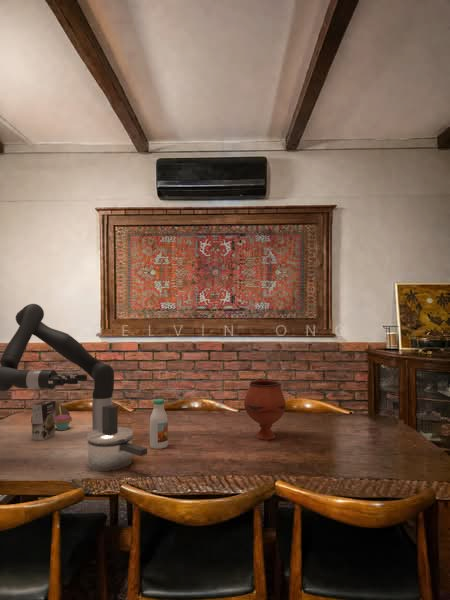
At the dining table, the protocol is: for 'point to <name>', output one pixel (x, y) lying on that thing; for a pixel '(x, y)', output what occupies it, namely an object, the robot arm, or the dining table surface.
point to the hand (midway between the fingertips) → (82, 379)
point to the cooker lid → (109, 428)
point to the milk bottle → (158, 426)
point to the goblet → (265, 405)
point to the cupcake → (62, 421)
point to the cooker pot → (112, 455)
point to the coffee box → (43, 420)
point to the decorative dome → (57, 411)
